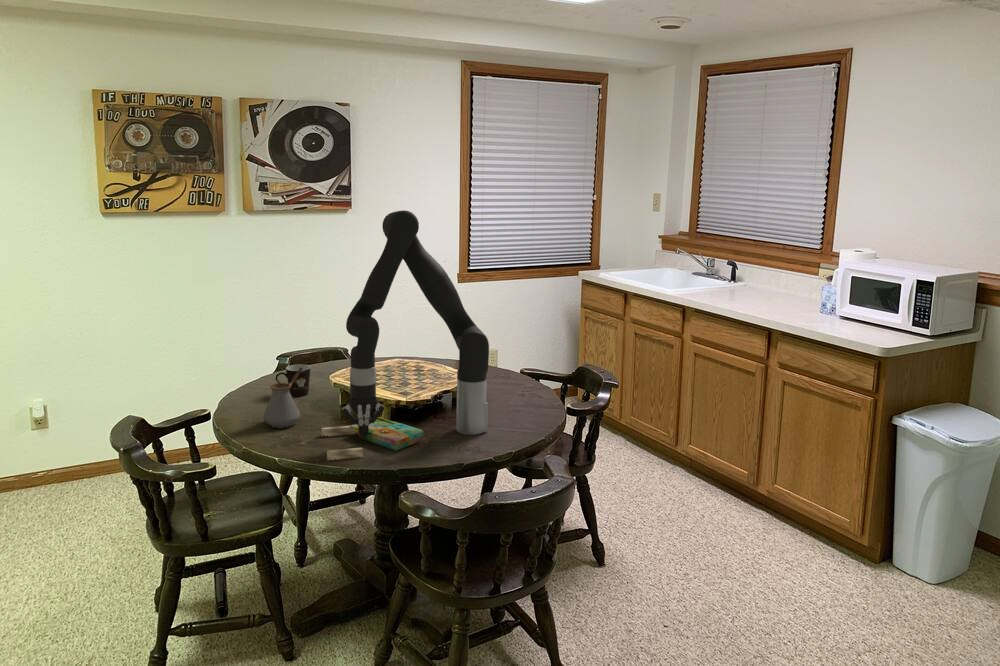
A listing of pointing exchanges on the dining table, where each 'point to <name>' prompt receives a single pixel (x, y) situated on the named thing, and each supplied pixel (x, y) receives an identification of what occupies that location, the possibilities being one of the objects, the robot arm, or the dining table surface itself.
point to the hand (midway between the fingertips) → (363, 436)
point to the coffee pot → (282, 405)
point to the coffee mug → (298, 379)
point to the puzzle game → (390, 434)
